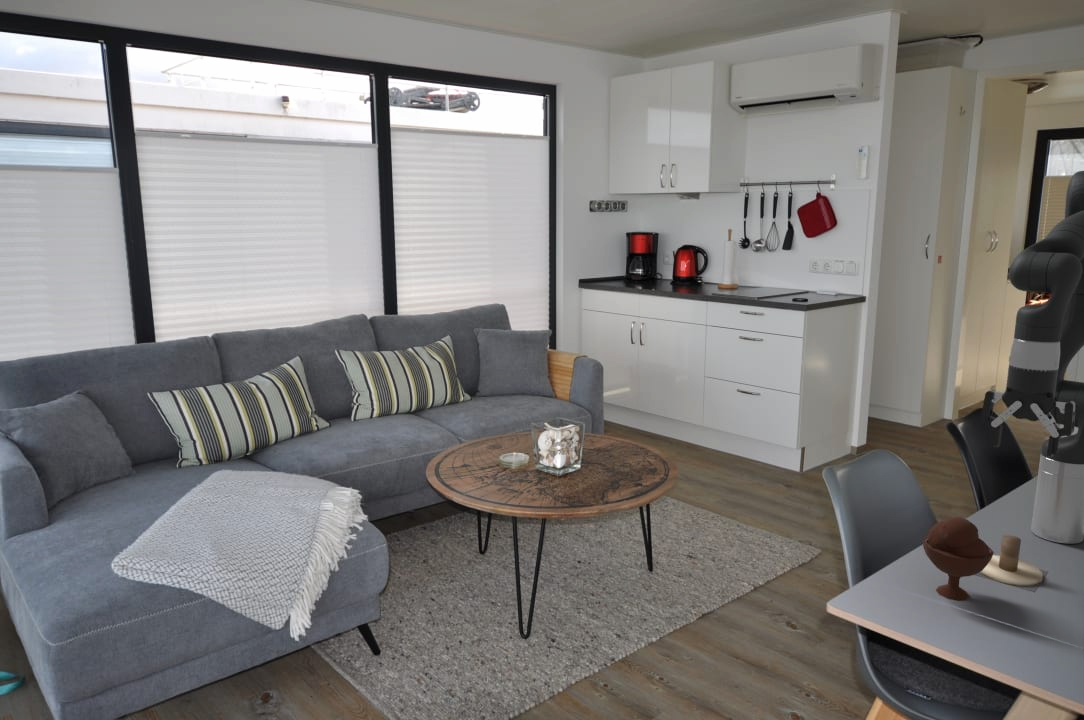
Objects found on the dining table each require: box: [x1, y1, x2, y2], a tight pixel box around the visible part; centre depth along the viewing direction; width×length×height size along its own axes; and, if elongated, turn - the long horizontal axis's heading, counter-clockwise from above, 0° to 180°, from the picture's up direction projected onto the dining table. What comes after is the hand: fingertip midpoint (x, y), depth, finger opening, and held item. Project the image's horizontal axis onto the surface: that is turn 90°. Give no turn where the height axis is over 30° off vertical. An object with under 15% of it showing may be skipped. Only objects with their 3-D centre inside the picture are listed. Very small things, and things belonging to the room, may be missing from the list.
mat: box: [974, 568, 1049, 593], centre depth 145 cm, size 11×11×1 cm
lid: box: [979, 534, 1043, 586], centre depth 144 cm, size 11×11×7 cm
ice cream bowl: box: [922, 516, 995, 602], centre depth 135 cm, size 11×11×15 cm
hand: (1022, 450), depth 140 cm, fingers open, 8 cm apart
